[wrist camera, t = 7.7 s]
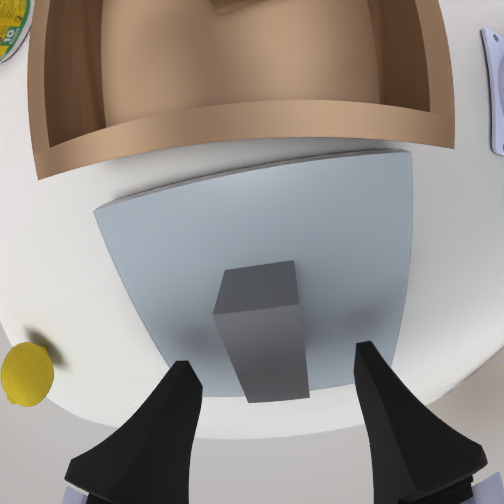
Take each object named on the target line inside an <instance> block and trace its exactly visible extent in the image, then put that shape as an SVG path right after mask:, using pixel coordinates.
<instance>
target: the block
mask: <svg viewBox="0 0 504 504" xmlns="http://www.w3.org/2000/svg"><path fill="white" fill-rule="evenodd" d="M209 1H210V2H211V4H212V6H213V8H214V9H215V11H216V13H217V15H219V14H222V13H225V12H228V11H231V10H235V9H238V8H241V7H245V6H248V5H252V4H255V3H259V2H263V1H268V0H209Z"/></svg>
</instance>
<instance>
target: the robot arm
mask: <svg viewBox="0 0 504 504" xmlns="http://www.w3.org/2000/svg"><path fill="white" fill-rule="evenodd" d="M482 35H483V39H484V44H485V49H486V55H487V61H488V68H489V76H490V86H491V99H492V148H493V151H494V152H495V153H497V154H500V155H503V156H504V37H502V36H501V35H499V34H497V33H496V32H494V31H492V30H491V29H489V28H484V29H482ZM353 373H354V379H355V385H356V391H357V395H358V399H359V402H360V406H361V410H362V413H363V417H364V421H365V425H366V428H367V432H368V436H369V442H370V449H371V458H372V469H373V485H374V504H504V489H503V484H502V480H501V476H500V472H497V473H495V474H493V475H492V476H490V477H488V478H487V479H485V480H484V481H482V482H480V483H478V484H476V485H474V486H472V487H471V482H473V476H472V475H473V474H474V473H476V472H477V471H479V470H480V469H482V468H483V467H485V466H486V465H487V463H488V462H487V458H486V455H485V452H484V450H483V448H482V446H481V445H479V444H478V443H476V442H474V441H472V440H470V439H468V438H467V437H465V436H463V435H462V434H460V433H459V432H457V431H456V430H454V429H452V428H451V427H450V426H449V425H447V424H446V423H445V422H443V421H442V420H441V419H439V418H438V417H437V416H436V415H434V414H433V413H432V412H431V411H430V410H429V409H427V408H426V407H425V406H424V405H423V404H422V403H421V402H420V401H419V400H418V399H417V398H416V397H415V396H414V395H413V394H412V393H411V391H410V390H409V389H408V388H407V387H406V386H405V385H404V384H403V383H402V381H401V380H400V379H399V378H398V376H397V375H396V374H395V373H394V372H393V370H392V369H391V368H390V366H389V365H388V364H387V362H386V361H385V360H384V358H383V357H382V356H381V354H380V353H379V351H378V350H377V348H376V347H375V345H374V344H373V342H372V341H370V340H369V341H365V342H360V343H356V350H355V361H354V370H353ZM202 393H203V385H202V384H201V382H200V380H199V379H198V377H197V375H196V373H195V372H194V370H193V368H192V366H191V365H190V363H189V361H188V360H186V361H175V363H174V364H173V365H172V367H171V368H170V369H169V371H168V372H167V373H166V375H165V376H164V377H163V379H162V380H161V381H160V383H159V384H158V385H157V387H156V388H155V389H154V391H153V392H152V393H151V394H150V396H149V397H148V398H147V400H146V401H145V402H144V403H143V404H142V405H141V407H140V408H139V409H138V410H137V411H136V412H135V413H134V414H133V415H132V417H131V418H130V419H129V420H128V421H127V422H126V423H124V424H123V425H122V426H121V427H120V428H119V429H118V430H117V431H115V432H114V433H113V434H112V435H111V436H109V437H108V438H107V439H105V440H104V441H103V442H101V443H100V444H98V445H97V446H95V447H94V448H92V449H90V450H89V451H87V452H85V453H83V454H81V455H79V456H77V457H75V458H73V459H72V460H71V462H70V464H69V467H68V469H67V472H66V475H65V478H64V479H65V480H66V481H68V482H69V483H71V484H73V485H75V486H77V487H79V488H81V489H83V490H85V491H87V492H89V495H88V496H86V495H84V494H82V493H80V492H78V491H76V490H74V489H73V488H71V487H67V488H66V491H65V494H64V497H63V500H62V503H61V504H189V493H188V492H189V467H190V457H191V450H192V444H193V440H194V436H195V431H196V427H197V423H198V418H199V414H200V409H201V404H202Z"/></svg>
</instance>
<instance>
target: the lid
mask: <svg viewBox="0 0 504 504" xmlns="http://www.w3.org/2000/svg"><path fill="white" fill-rule="evenodd" d="M93 213H94V215H95V218H96V221H97V224H98V226H99V229H100V231H101V234H102V237H103V239H104V242H105V244H106V246H107V249H108V251H109V254H110V256H111V258H112V261H113V263H114V265H115V267H116V270H117V272H118V274H119V276H120V278H121V280H122V283H123V285H124V287H125V289H126V291H127V293H128V295H129V297H130V299H131V301H132V303H133V305H134V307H135V309H136V311H137V313H138V315H139V316H140V318H141V320H142V322H143V324H144V326H145V328H146V329H147V331H148V333H149V335H150V336H151V338H152V340H153V342H154V343H155V345H156V347H157V349H158V350H159V352H160V354H161V355H162V357H163V359H164V360H165V362H166V363H167V365H168V367H169V368H171V367H172V365H173V364H174V363H175V361H186V360H188V361H189V363H190V365H191V366H192V368H193V370H194V372H195V373H196V375H197V377H198V379H199V380H200V382H201V384H202V385H203V393H202V397H238V396H246V398H247V401H248V403H257V402H273V401H284V400H294V399H303V398H310V394H309V391H310V390H317V389H324V388H330V387H336V386H342V385H347V384H353V383H355V379H354V373H353V370H354V361H355V350H356V343H360V342H365V341H369V340H370V341H372V342H373V344H374V345H375V347H376V348H377V350H378V351H379V353H380V354H381V356H382V357H383V358H384V360H385V361H386V362H387V364H388V365H389V366H390V368H391V364H392V361H393V357H394V352H395V348H396V344H397V339H398V335H399V330H400V325H401V319H402V314H403V308H404V302H405V296H406V289H407V281H408V273H409V263H410V252H411V238H412V216H413V179H412V157H411V152H410V151H407V150H404V149H384V150H371V151H359V152H349V153H339V154H331V155H322V156H315V157H307V158H300V159H293V160H287V161H281V162H275V163H269V164H263V165H257V166H252V167H247V168H242V169H236V170H232V171H227V172H222V173H217V174H213V175H208V176H204V177H200V178H195V179H191V180H187V181H183V182H179V183H175V184H171V185H167V186H163V187H160V188H156V189H152V190H149V191H145V192H142V193H138V194H135V195H132V196H128V197H125V198H122V199H118V200H115V201H112V202H109V203H106V204H103V205H102V206H100V207H99V208H97V209H96V210H94V211H93Z"/></svg>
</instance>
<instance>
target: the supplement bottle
mask: <svg viewBox="0 0 504 504" xmlns="http://www.w3.org/2000/svg"><path fill="white" fill-rule="evenodd" d="M34 5H35V1H34V0H0V63H1V62H3V61H5V60H7V59H8V58H9V57H10V56H11V55H12V54H13V53H14V52H15V51H16V50H17V48H18V47H19V46H20V44H21V43H22V41H23V39H24V37H25V36H26V34H27V32H28V30H29V28H30V26H31V22H32V16H33V10H34Z"/></svg>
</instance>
